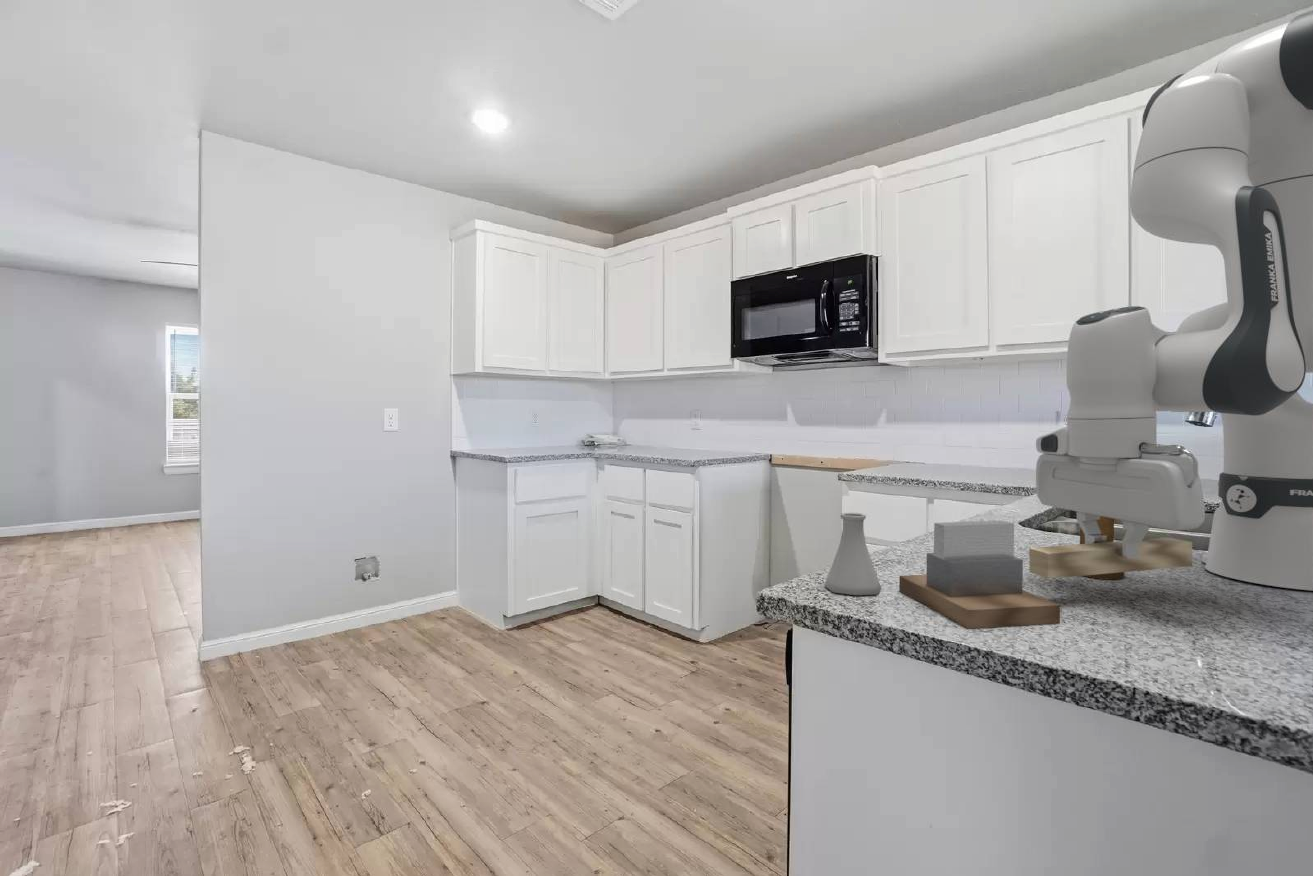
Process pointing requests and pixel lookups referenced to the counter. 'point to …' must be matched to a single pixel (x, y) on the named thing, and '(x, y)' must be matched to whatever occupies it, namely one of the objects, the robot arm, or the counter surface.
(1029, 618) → the walnut base
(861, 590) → the flask
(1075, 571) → the maple bar
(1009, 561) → the grey stepped block
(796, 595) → the counter surface
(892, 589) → the counter surface
